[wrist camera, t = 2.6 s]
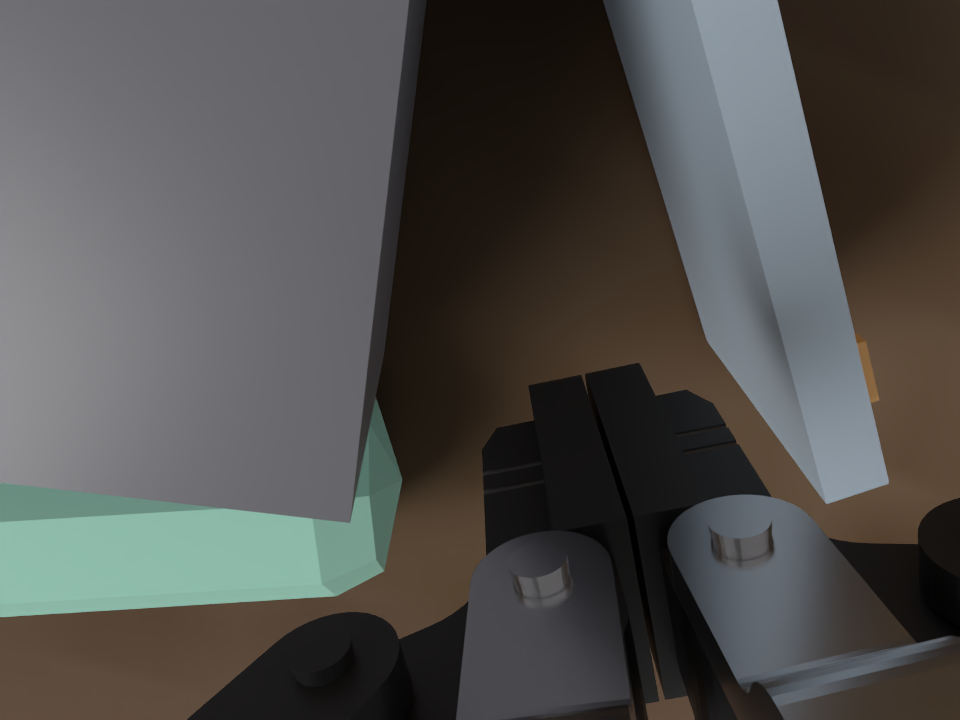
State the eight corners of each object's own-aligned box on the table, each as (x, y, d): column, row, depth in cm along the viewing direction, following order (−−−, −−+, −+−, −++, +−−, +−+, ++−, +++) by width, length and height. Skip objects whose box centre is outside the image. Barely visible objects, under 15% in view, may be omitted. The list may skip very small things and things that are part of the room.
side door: (477, -387, 15) (496, -707, 8) (583, -438, 14) (692, -811, 8) (702, 342, 20) (825, 513, 13) (782, 313, 20) (947, 473, 13)
